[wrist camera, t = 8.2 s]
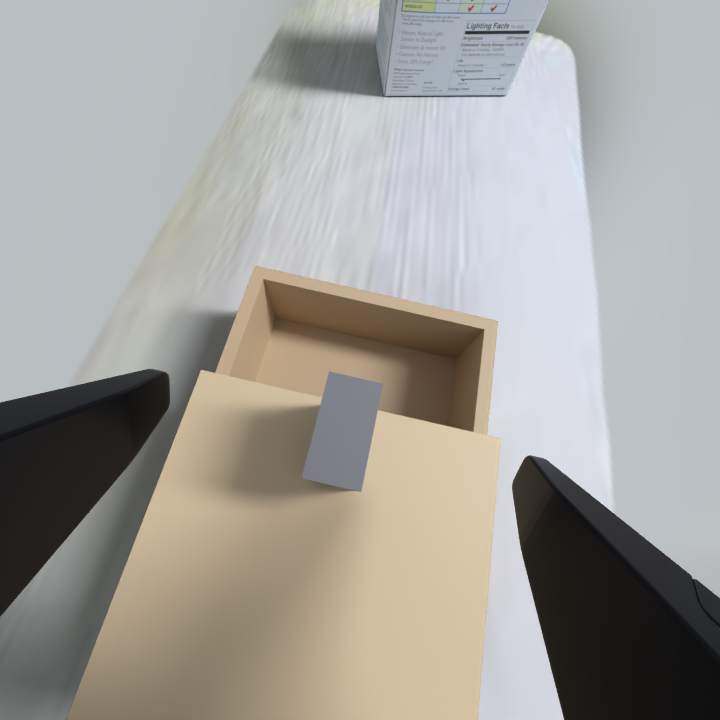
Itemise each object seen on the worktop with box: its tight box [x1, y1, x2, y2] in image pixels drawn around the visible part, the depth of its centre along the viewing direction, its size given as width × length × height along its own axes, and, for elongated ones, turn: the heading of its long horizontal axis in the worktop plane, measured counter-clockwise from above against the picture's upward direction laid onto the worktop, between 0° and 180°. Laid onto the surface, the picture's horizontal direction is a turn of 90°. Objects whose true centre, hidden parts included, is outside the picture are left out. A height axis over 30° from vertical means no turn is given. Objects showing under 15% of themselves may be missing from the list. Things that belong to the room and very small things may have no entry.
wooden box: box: [215, 266, 498, 435], centre depth 18 cm, size 12×12×5 cm
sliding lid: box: [66, 370, 501, 720], centre depth 11 cm, size 12×12×5 cm
